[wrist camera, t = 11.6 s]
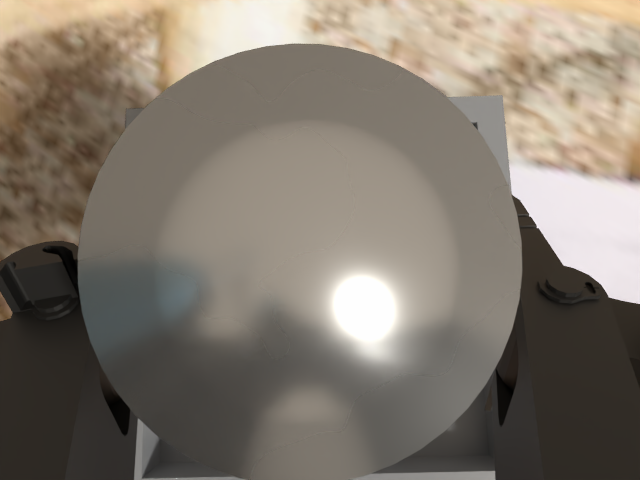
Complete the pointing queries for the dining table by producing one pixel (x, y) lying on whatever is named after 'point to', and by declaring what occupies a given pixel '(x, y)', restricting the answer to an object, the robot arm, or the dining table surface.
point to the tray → (436, 457)
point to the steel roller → (299, 264)
